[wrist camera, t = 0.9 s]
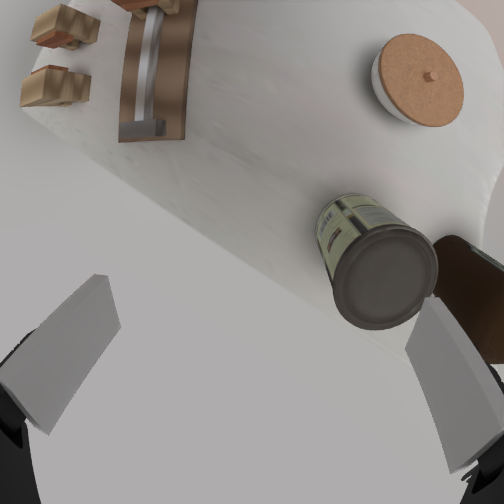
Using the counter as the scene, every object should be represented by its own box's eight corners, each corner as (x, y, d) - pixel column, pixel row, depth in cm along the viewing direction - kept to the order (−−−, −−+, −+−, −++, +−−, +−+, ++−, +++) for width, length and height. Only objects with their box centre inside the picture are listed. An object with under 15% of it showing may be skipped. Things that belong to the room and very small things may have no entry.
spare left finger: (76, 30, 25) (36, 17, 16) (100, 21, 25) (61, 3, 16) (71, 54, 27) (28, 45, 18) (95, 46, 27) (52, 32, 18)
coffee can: (384, 266, 36) (424, 326, 23) (313, 267, 37) (327, 334, 24) (392, 194, 32) (448, 228, 19) (315, 191, 33) (338, 225, 20)
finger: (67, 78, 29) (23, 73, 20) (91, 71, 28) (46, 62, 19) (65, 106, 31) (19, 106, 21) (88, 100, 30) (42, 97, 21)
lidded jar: (355, 114, 29) (381, 106, 20) (363, 40, 24) (387, 14, 16) (428, 138, 28) (468, 141, 20) (434, 68, 24) (472, 54, 15)
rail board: (144, -15, 22) (131, -26, 18) (202, -25, 22) (193, -40, 18) (124, 142, 33) (106, 143, 28) (184, 139, 32) (171, 140, 28)
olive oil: (441, 303, 37) (514, 416, 14) (406, 272, 36) (493, 403, 13) (479, 255, 33) (574, 346, 10) (448, 216, 32) (571, 309, 9)
